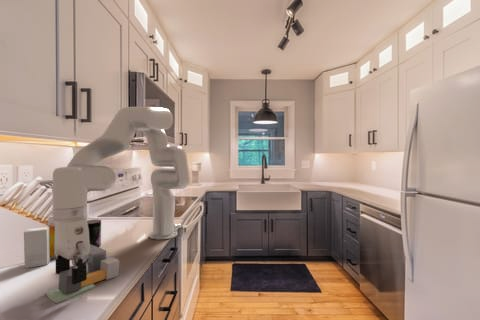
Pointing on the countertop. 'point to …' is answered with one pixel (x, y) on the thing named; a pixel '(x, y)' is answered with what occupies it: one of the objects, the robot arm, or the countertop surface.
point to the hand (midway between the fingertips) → (70, 276)
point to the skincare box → (36, 247)
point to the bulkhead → (94, 258)
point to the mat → (60, 296)
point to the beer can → (52, 236)
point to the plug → (89, 276)
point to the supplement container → (94, 232)
